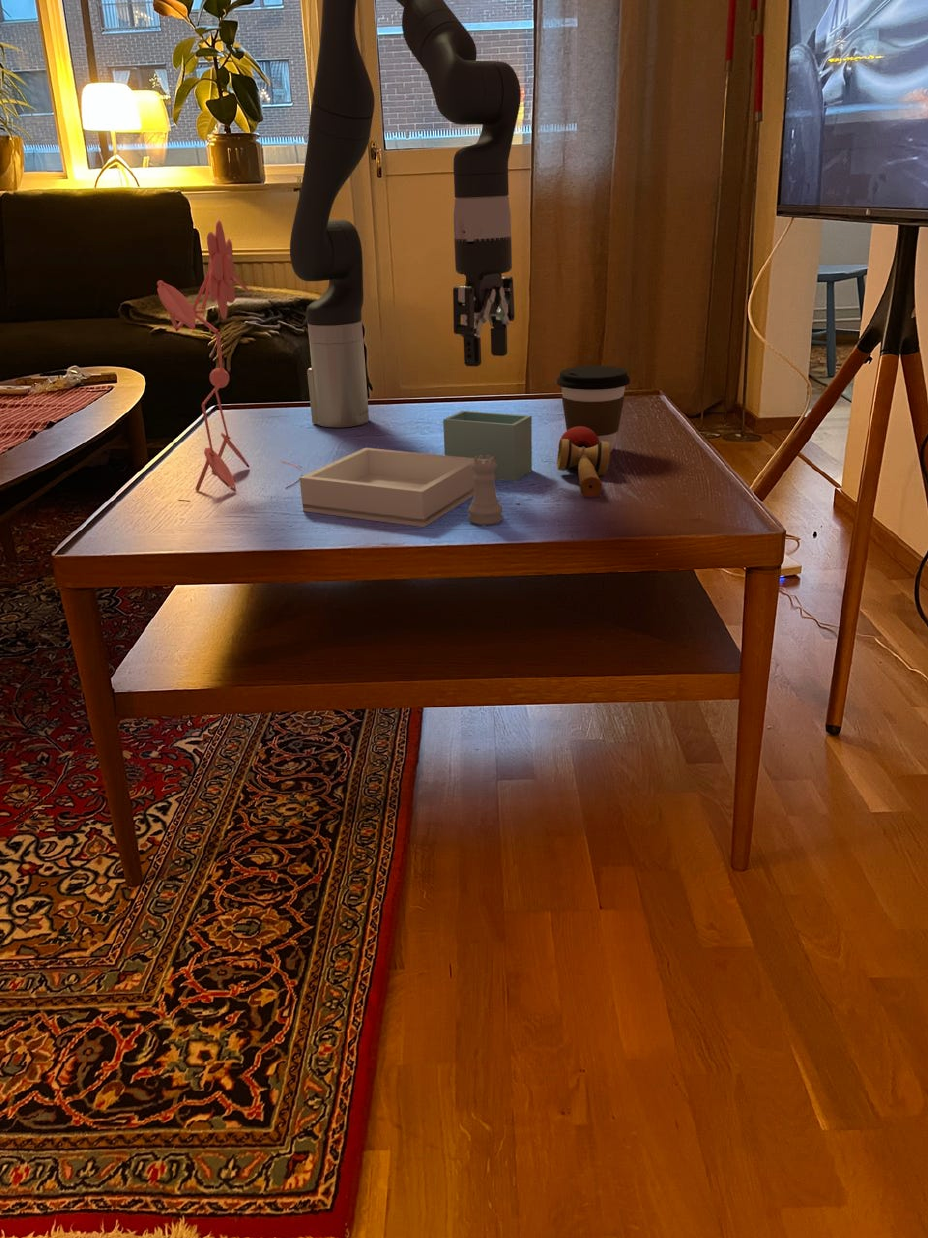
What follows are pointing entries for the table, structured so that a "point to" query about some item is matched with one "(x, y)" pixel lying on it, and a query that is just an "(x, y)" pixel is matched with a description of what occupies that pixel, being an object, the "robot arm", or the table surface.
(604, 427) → the coffee cup
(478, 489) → the rook chess piece
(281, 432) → the table surface
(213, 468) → the pink thin branched figure
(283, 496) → the table surface
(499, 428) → the teal tote
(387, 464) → the beige tray
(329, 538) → the table surface
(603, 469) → the kendama
